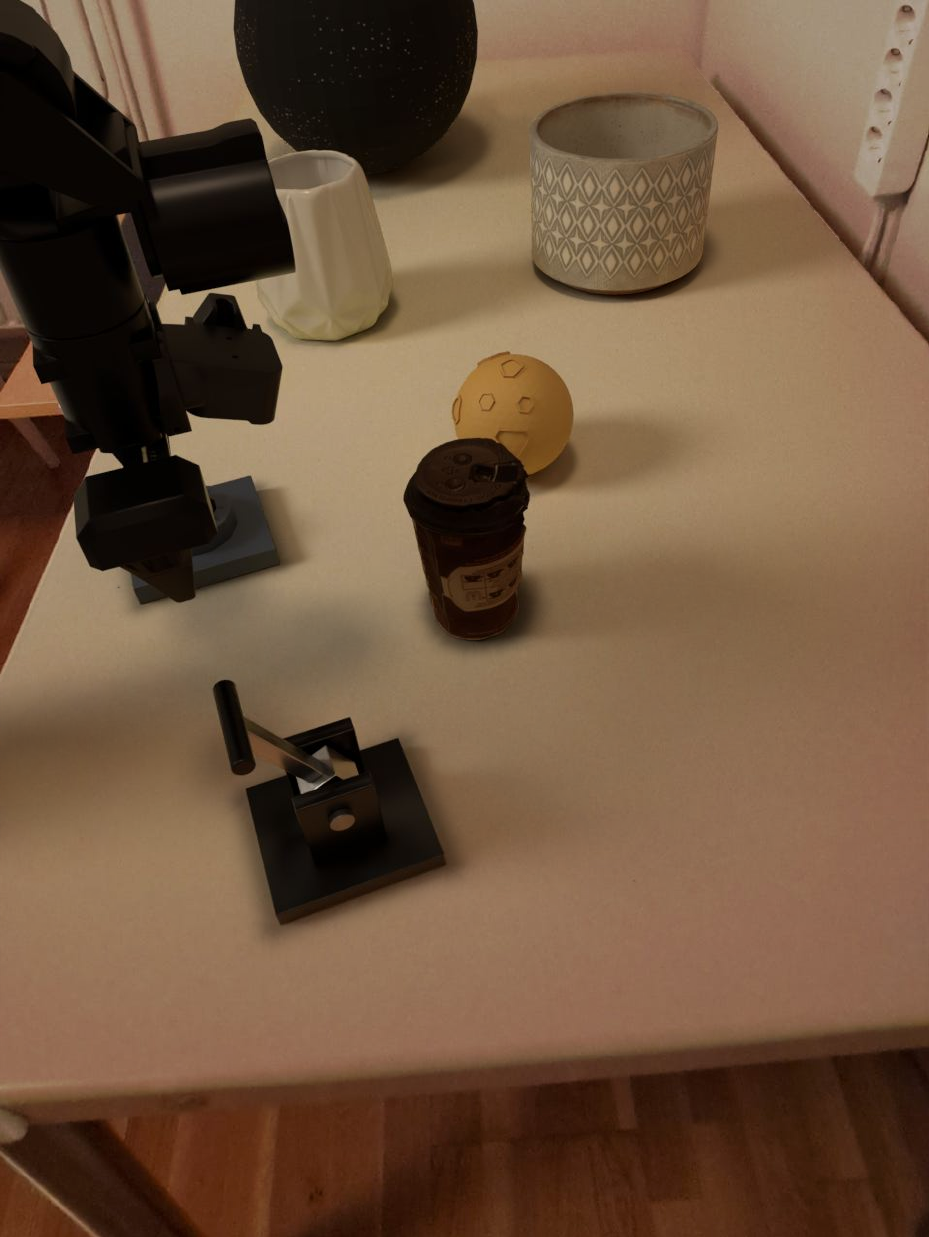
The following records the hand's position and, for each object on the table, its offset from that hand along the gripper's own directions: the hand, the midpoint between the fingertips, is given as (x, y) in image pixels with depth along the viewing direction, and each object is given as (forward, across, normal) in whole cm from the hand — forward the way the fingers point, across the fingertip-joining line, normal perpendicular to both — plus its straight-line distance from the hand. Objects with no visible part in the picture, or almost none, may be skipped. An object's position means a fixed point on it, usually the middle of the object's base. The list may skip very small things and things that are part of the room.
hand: (176, 548), depth 56 cm
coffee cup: (+13, 0, -19) cm, 23 cm away
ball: (+13, +84, -33) cm, 91 cm away
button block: (+13, +15, 0) cm, 20 cm away
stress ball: (+13, +15, -27) cm, 34 cm away
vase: (+13, +47, -18) cm, 52 cm away
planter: (+13, +45, -50) cm, 69 cm away
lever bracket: (+13, -14, -5) cm, 20 cm away
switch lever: (+5, -15, -2) cm, 15 cm away
